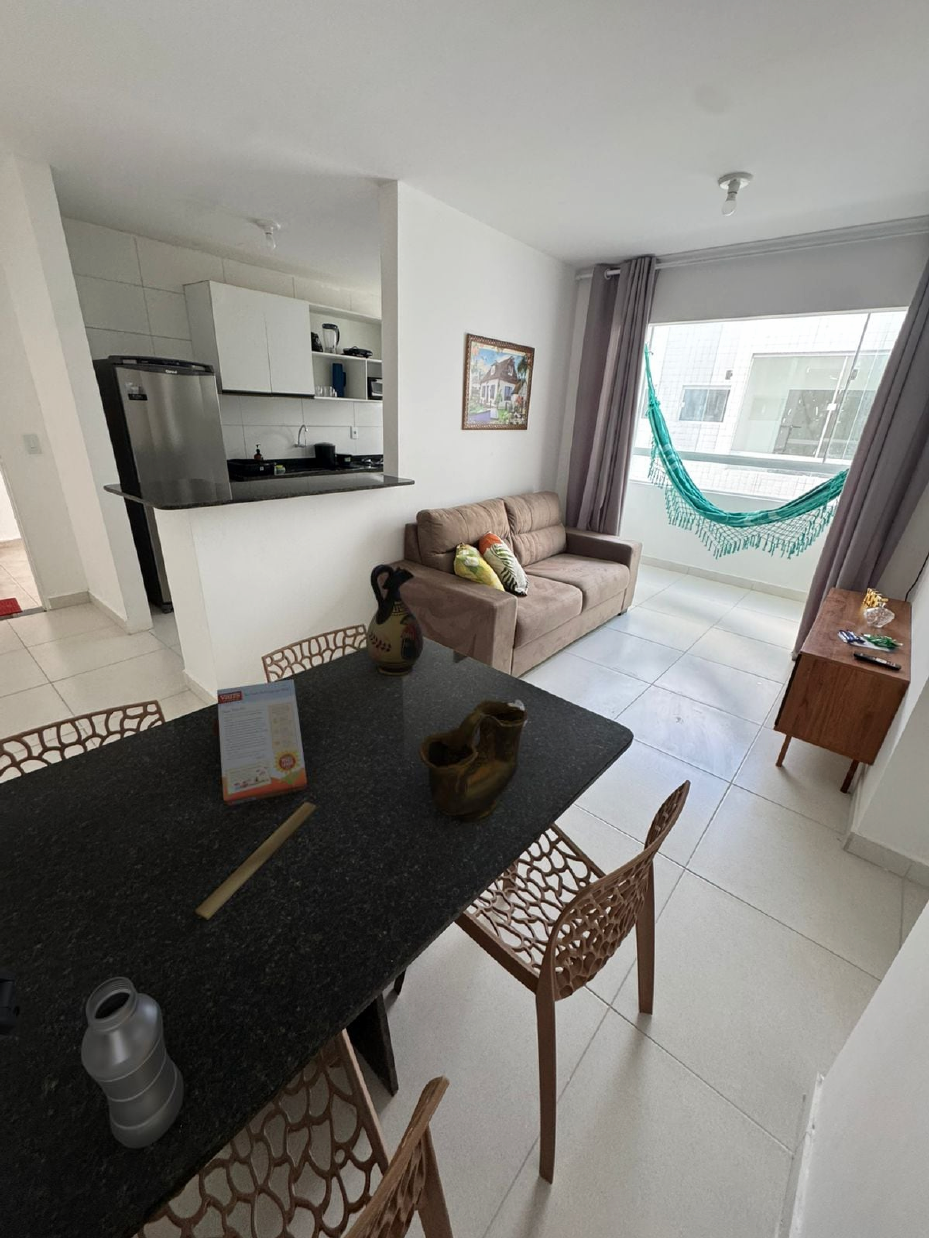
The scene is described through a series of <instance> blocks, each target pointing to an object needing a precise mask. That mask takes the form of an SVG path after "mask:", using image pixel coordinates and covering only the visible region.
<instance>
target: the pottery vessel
mask: <svg viewBox="0 0 929 1238" xmlns="http://www.w3.org/2000/svg"><path fill="white" fill-rule="evenodd" d="M508 703H509V702H508V701H504V702H502V701H494V700H491V699H489V700H488V699H487V700H486V699H485V700H483V701H482V702H479V703H478V704H477V705H476V706H475V707H474V708H473V711H472V712H470V713H469V714H467V715H466V717H465V718H464V719H463V720H462V721H461V723H460V725H459V726H458V727H455V728H452V729H450V730H448V731H444V732H440V733H434V734H431V735H427V736H425V737H424V738H423V740H422V741H421V742H420V743H418V745H417V746H418V751H417V753H418V755H419V757H420V761H421V762H422V763H423V764H424V765H425V766H426V767H427V768H428V778H429V779H428V781H429V782H428V786H429V790H430V794H431V799H433V801H434V804H435V805H436V807H437V808H438V809H439V811H440V812H441V813H443V814H444V815H446V816H451V817H452V816H453V817H455V818H457V819H459V821H461V822H465V823H467V822H468V823H469V822H478V821H481V820H483V819H485V818H487V817H488V816H490V815H492V813H493V812H494V811H495V810H497V808H498V806H499V805H500V796H501V795H502V794H503V792H504V791H505V790H506V789H507V787H508V785H509V784H510V783H511V780H512V779H513V777H514V776H515V774H516V773H517V770H518V768H519V746H520V741H521V736H522V730H523V728H524V727H523V724H524V722H525V721H526V720H527V721H528V716H529V713H528V711H527V710H525V711H524V710H521V709H520V707H515V706H509V705H508ZM478 730H479V741H478V742H477V744H476V745H475V743H474V742H475V737H476V735H477V734H478Z"/></svg>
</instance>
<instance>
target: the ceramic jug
mask: <svg viewBox="0 0 929 1238" xmlns="http://www.w3.org/2000/svg"><path fill="white" fill-rule="evenodd" d="M384 573H387V577H386V578H385V580H384V582H383V584H382V586H381V588H382V589H383V590H386V594H385V597H384V596H383V594H382V591H381V588H380V584H379V577H380V576H381V575H383V574H384ZM369 577H370V586H371V588H372V591H373V594H374V597H375V601H376V602H377V610H376V611H375V613H374V614H373V616H372V618H371V620H370V622H369V625H368V628H367V630H366V631H367V632H366V637H365V647H366V652H367V655H368V656H369V658H370V660H371V661H372V662H373V663H374V664H376V666H377V667H378V671H379V673H382V674H385V675H388V676H403V675H407V674H410V673H412V672H413V668H414V667H413V666H414V665H415V664H416V662H417V661H418V660H419V658H420V657H421V655H422V652H423V649H424V635H423V631H422V627H421V624H420V622H419V620H418V617H416V615H415V613H414V612H413V611H412V609H411V608H410V606H409V605H408V604H407V602H405V600H404V598H402V595H401V591H400V588H401V587H402V586H403V585H404V584H405V583H406V582H408V581H411V580H412V579H414V577H415V576H414V574H413V573H412V572H411V571H409V569H406V568H401V567H400V566H396V569H394V568H393V567H392V566H391V565H388V564H383V563H381V564H378V565H375V567H373V569H372V571H371V572H370V576H369Z"/></svg>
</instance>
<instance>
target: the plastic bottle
mask: <svg viewBox="0 0 929 1238" xmlns="http://www.w3.org/2000/svg"><path fill="white" fill-rule="evenodd" d="M85 1015H86V1018H87V1024H88V1026H87V1028H86V1030H85V1032H84V1035H83V1037H82V1042H81V1049H80V1060H81V1063H82V1066H83V1067H84V1069H85V1071H86V1072H87V1073H88V1075H89V1076H90V1077H91V1078H92V1079H93V1080H94V1081H95V1082H96V1083H97V1084H98V1085H99V1086H100V1088H101V1090H102V1091H103V1092H104V1093H103V1094H104V1095H105V1096H106V1099H107V1105H108V1108H109V1109H108V1111H109V1125H110V1130H111V1133H112V1135H113V1137H114V1138H115V1139H116V1140H117V1141H118V1142H119V1143H120V1144H122V1145H123V1146H124V1147H127V1148H130V1149H141V1148H144V1147H147V1146H149V1145H152V1144H153V1143H155V1142H156V1141H158V1140H159V1139H160V1138H161V1137H163V1135H165V1133H167V1131H168V1130H169V1129H170V1128H171V1127H172V1125H173V1123H174V1122H175V1121H176V1119H177V1117H178V1115H179V1114H180V1111H181V1108H182V1105H183V1102H184V1101H183V1100H184V1088H185V1087H184V1086H185V1085H184V1078H183V1074H182V1072H181V1071H180V1069H179V1067H178V1066H177V1064H175V1063H174V1061H173V1060H172V1059H171V1058H170V1057H171V1056H170V1055H169V1053H168V1052H167V1049H166V1044H165V1039H164V1021H163V1014H162V1009H161V1007H160V1004H159V1003H158V1002H157V1001H156V1000H155V999H154V998H153V997H151V996H149V995H148V994H145V993H143V992H142V993H141V992H138V991H137V989H136V988H135V986H134V984H133V982H132V980H130V979H129V978H128V977H126V976H114V977H112V978H109V979H107V980H105V981H104V982H102V983H100V985H98V986H97V987H96V988H95V989H94V990H93V992H92V993H90V996H89V997H88V999H87V1002H86V1004H85Z"/></svg>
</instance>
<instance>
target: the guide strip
mask: <svg viewBox="0 0 929 1238" xmlns="http://www.w3.org/2000/svg"><path fill="white" fill-rule="evenodd" d="M315 810H317V805H315V804H313V803H310V802H307V801H305V802H304V803H303V804H301V806H300V807H298V809H296V810H295V812H294V813H293V814H292V815H290V817H289V818H287V820H285V821H284V822H283V823H282V825H280V826H279V827H278V828H277V829H276V830H275V831H274V832H273V833H272V834H271V835H270V836H269V837H268V838H267V839H266V840H265V841H264V842H263V843H262V844H261V845H260V846H259V847H258V848H257V849H256V850H255V851H254V852H253V853H252V854H251V855H249V857H248V858H247V859H246V860H245V861H244V862H243V863H242V864H241V865H240V866H239V867H237V869H236V870H235V871H233V873H232V874H231V875H230V876H228V877H227V879H225V880H224V881H223V883H221V884H220V885H219V886H218V888H216V889H215V890H214V891H213V892H212V893H211V894H210V895H209V896H208V897H207V898H206V899H205V900H204V901H203V902H202V903H201V904H200V905H199V906H198V907H197V908H196V909H195V914H197V915H199V916H201V917H202V918H204V919H206V920H210V919H211V917H212V916H213V915H214V914H216V913H217V912H218V910H220V908H221V907H222V906H223V905H224V904H225V903H226V902H227V901H228V900H229V899H230V898H231V897H232V896H233V895H234V894H235V893H236V892H237V891H238V890H239V889H240V888H241V887H242V886H243V885H244V884H245V883H246V882H247V881H248V879H249V878H250V877H252V875H253V874H255V872H257V870H258V869H259V868H260V867H261V866H262V865H263V864H264V863H265V862H266V861H267V860H268V859H269V858H270V857H271V856H272V855H273V854H274V853H275V852H276V851H277V850H278V849H279V848H280V846H281V845H282V844H284V843H285V841H286V840H287V839H288V838H289V837H291V835H292V834H293V833H294V832H295V831H296V830H297V829H298V828H299V827H300V826H301V825H302V824H303V823H304V822H305V821H306V820H307V819H308V818H309V817H310V816H311V815H312V814H313V812H315Z"/></svg>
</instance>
